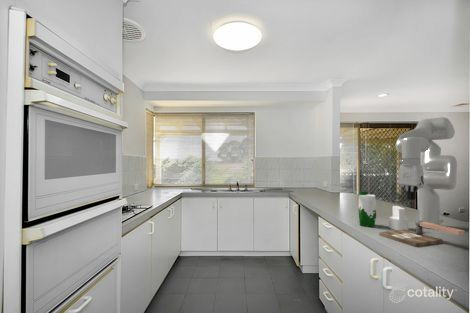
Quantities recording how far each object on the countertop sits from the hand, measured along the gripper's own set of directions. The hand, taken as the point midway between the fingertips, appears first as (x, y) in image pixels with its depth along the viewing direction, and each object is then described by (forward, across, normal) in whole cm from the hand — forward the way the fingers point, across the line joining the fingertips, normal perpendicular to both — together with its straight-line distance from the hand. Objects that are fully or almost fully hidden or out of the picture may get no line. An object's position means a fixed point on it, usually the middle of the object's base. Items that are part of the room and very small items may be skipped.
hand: (411, 199), depth 121 cm
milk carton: (+19, -26, 0) cm, 32 cm away
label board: (+19, 0, -2) cm, 19 cm away
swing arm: (+13, +8, +6) cm, 16 cm away
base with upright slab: (+19, -15, +11) cm, 27 cm away
